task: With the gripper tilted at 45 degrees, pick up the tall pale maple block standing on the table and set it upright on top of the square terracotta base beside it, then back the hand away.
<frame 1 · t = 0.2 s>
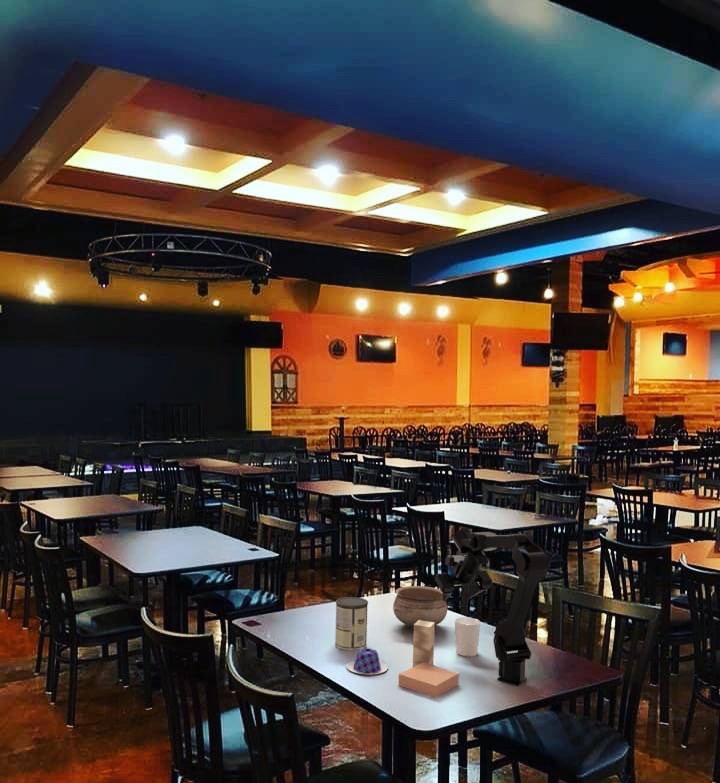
hand: (455, 599, 228), 15 cm above the table, tool tilted 35°, fingers open, 9 cm apart
white cup: (466, 653, 221), on the table
pudding: (367, 669, 205), on the table
maple block: (423, 665, 209), on the table
coffee can: (350, 645, 225), on the table
cooking pot: (419, 628, 245), on the table
terracotta base: (428, 684, 195), on the table
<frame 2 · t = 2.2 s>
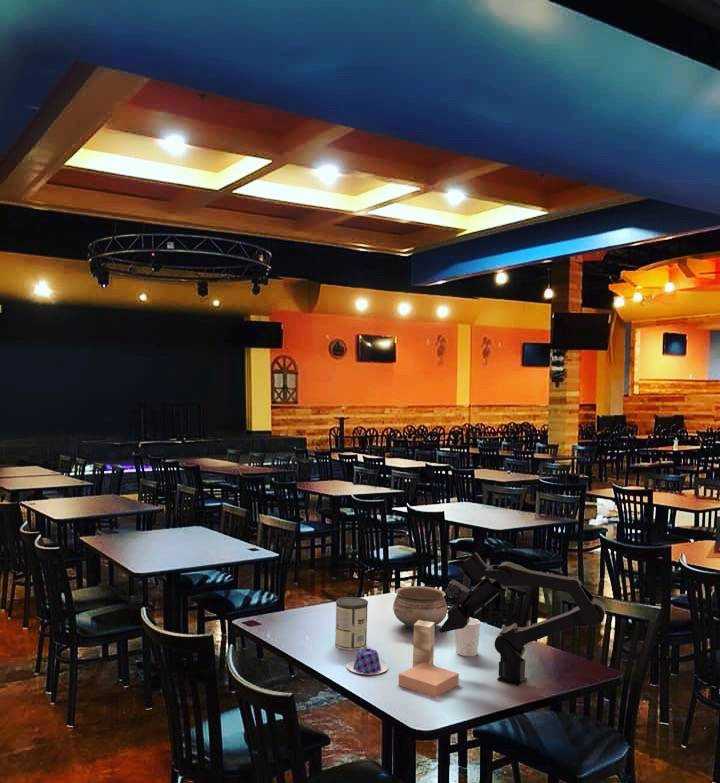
hand: (443, 627, 207), 12 cm above the table, tool tilted 45°, fingers open, 9 cm apart
nothing on the table moved.
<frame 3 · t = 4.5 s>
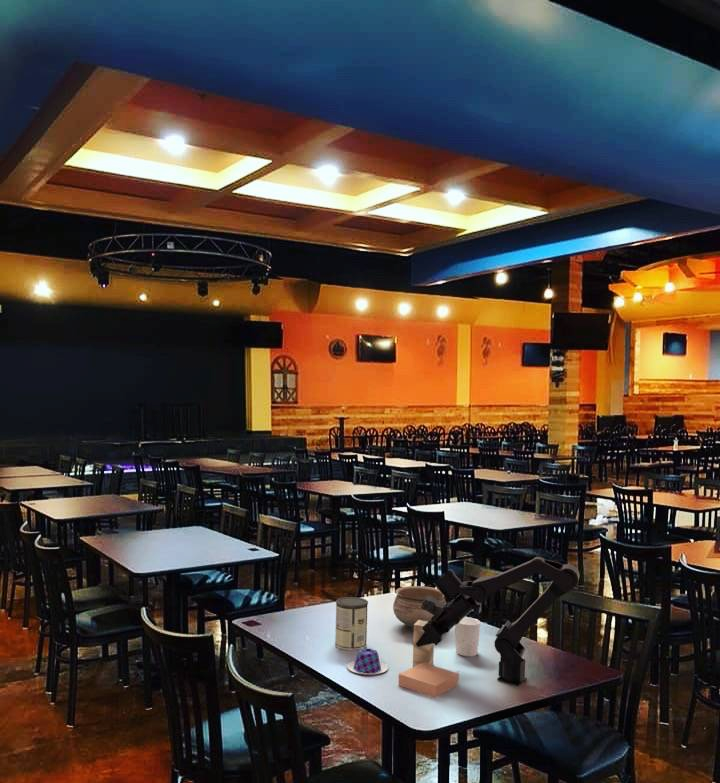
hand: (419, 642, 209), 7 cm above the table, tool tilted 45°, fingers closed on maple block, 5 cm apart
maple block: (423, 665, 209), on the table, touching gripper
everything else where it was.
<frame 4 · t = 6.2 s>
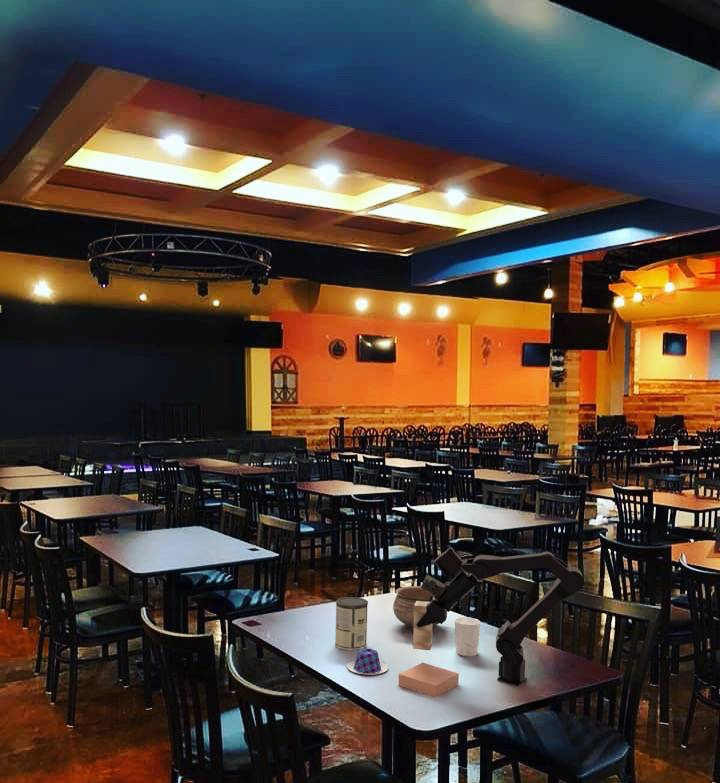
hand: (418, 623, 206), 13 cm above the table, tool tilted 45°, fingers closed on maple block, 5 cm apart
maple block: (422, 646, 205), point 7 cm above the table, touching gripper
everything else where it was.
when the fingers open (11 cm above the table, at t = 8.0 s): maple block drops 1 cm, resting on terracotta base.
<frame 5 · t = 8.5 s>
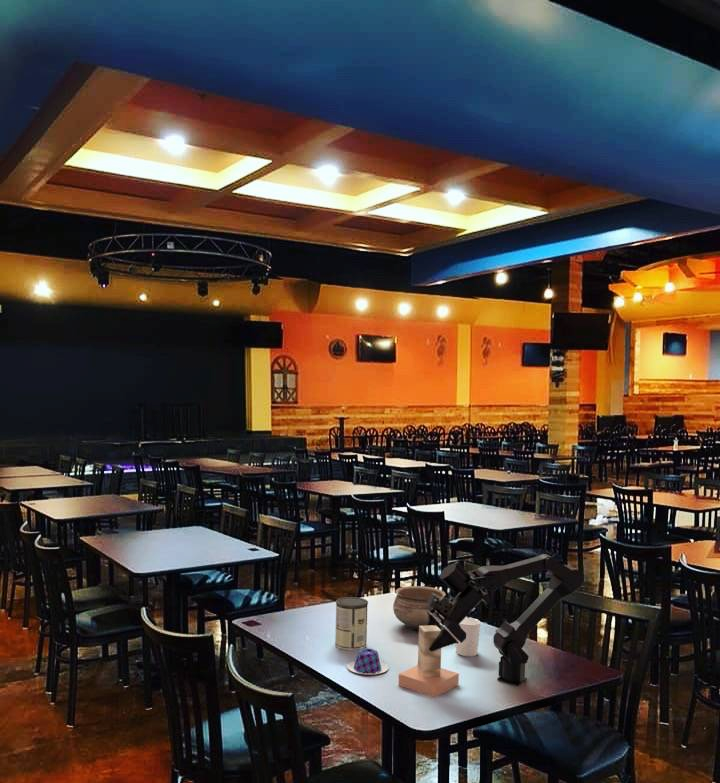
hand: (425, 644, 195), 11 cm above the table, tool tilted 45°, fingers open, 9 cm apart
maple block: (428, 673, 195), point 3 cm above the table, touching terracotta base
everything else where it was.
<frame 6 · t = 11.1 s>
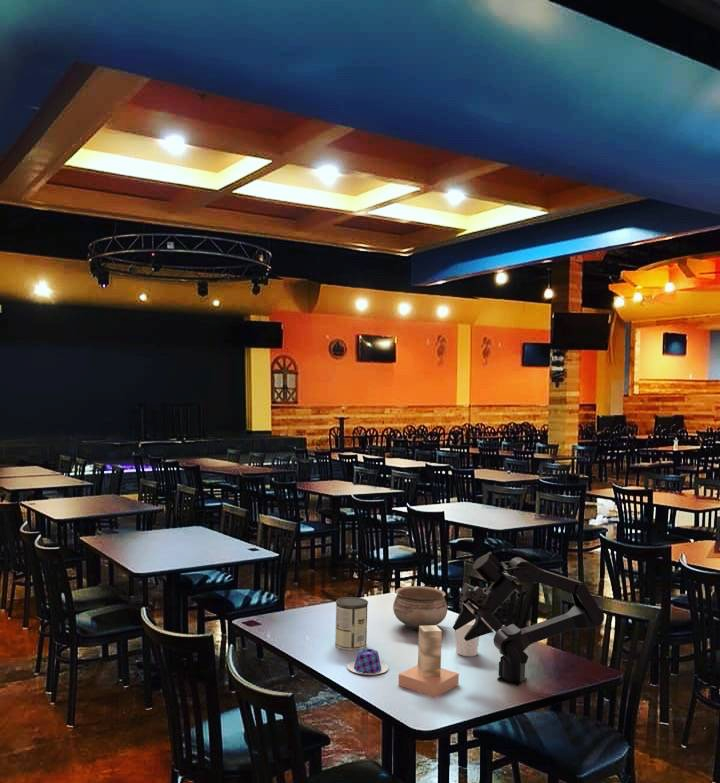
hand: (459, 634, 197), 14 cm above the table, tool tilted 45°, fingers open, 9 cm apart
nothing on the table moved.
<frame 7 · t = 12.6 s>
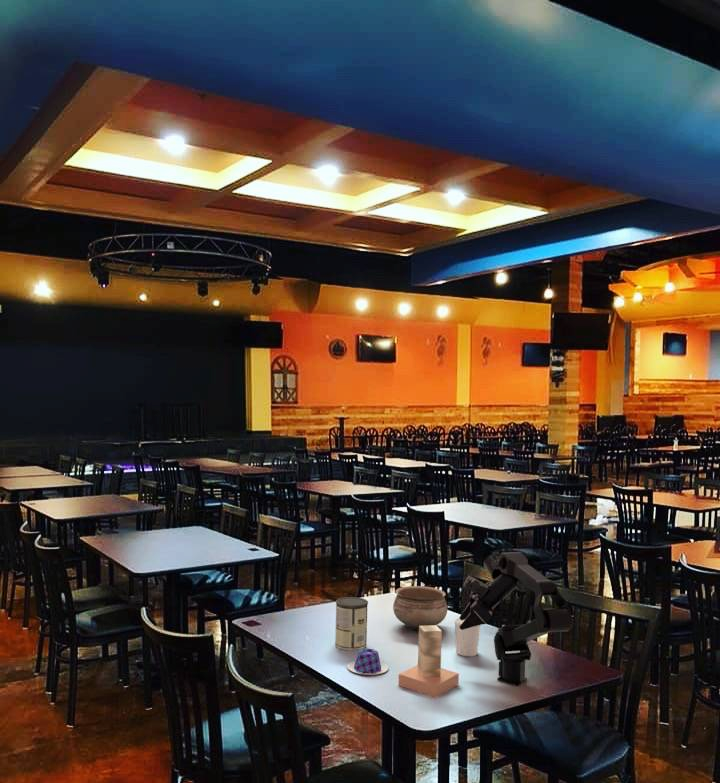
hand: (460, 623, 206), 14 cm above the table, tool tilted 45°, fingers open, 9 cm apart
nothing on the table moved.
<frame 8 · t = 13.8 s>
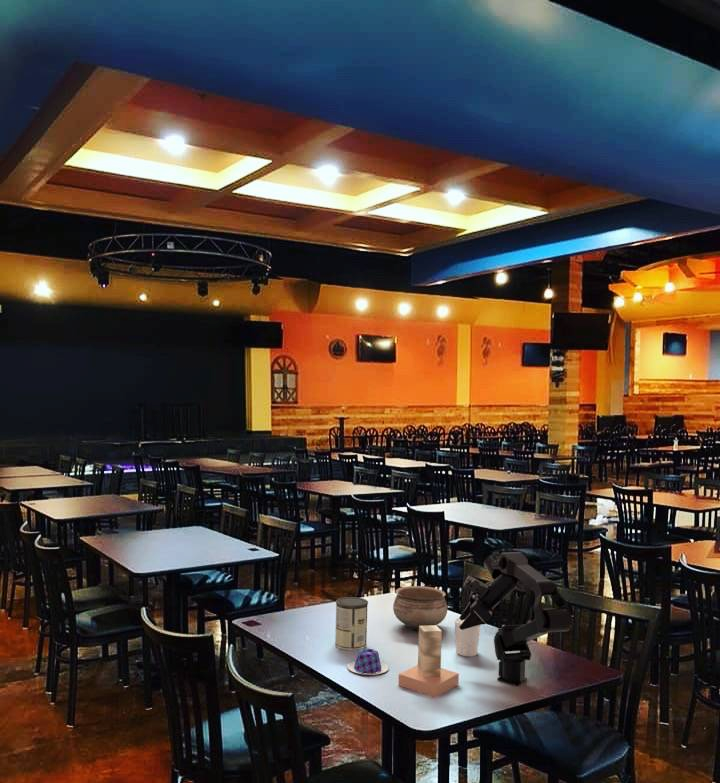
hand: (460, 623, 206), 14 cm above the table, tool tilted 45°, fingers open, 9 cm apart
nothing on the table moved.
at the end: maple block inside the target area on the terracotta base (0.0 cm from its centre), point 3.0 cm above the terracotta base's base; maple block tilted 0°; the gripper is holding nothing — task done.
